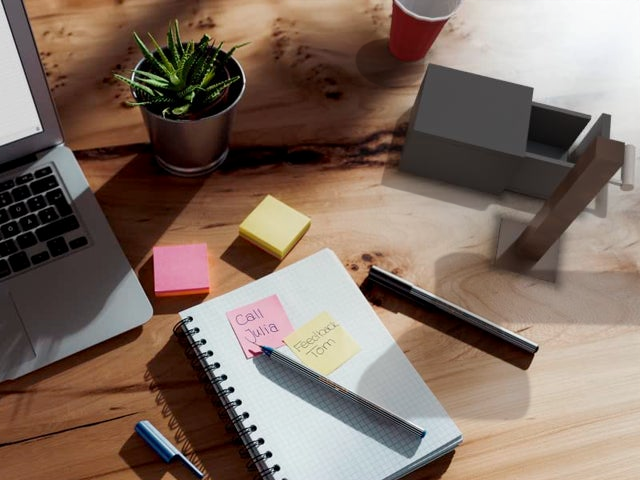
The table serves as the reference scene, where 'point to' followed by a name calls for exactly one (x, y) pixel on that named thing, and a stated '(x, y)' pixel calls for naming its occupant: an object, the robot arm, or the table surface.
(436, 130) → the cabinet
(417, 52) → the plastic cup
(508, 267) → the stand
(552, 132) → the drawer
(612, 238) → the table surface
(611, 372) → the table surface
